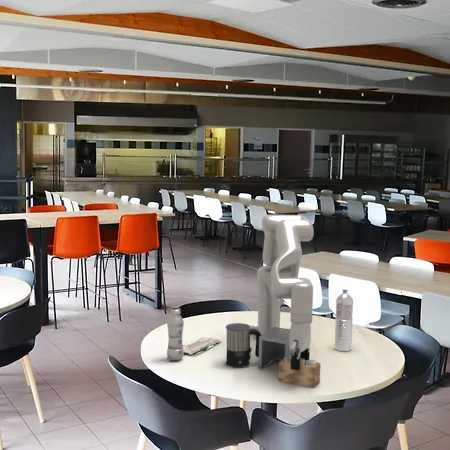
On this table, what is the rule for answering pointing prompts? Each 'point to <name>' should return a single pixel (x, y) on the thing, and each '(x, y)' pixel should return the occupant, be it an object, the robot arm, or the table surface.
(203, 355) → the table surface
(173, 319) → the plastic bottle
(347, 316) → the water bottle
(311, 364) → the glass carrier
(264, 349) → the gray open-front box
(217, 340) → the newspaper
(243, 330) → the milk frother
